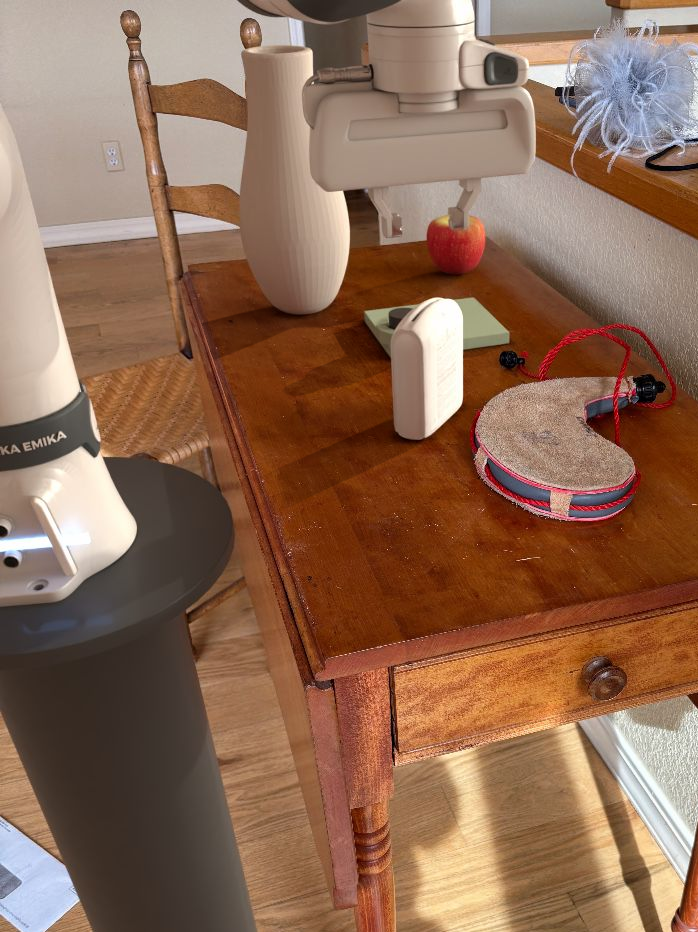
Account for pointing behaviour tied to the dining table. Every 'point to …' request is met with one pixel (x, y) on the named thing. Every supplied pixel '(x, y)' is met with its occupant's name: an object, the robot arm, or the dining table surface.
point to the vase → (287, 189)
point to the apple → (455, 245)
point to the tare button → (397, 316)
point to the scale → (476, 325)
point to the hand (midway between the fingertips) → (425, 232)
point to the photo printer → (427, 367)
